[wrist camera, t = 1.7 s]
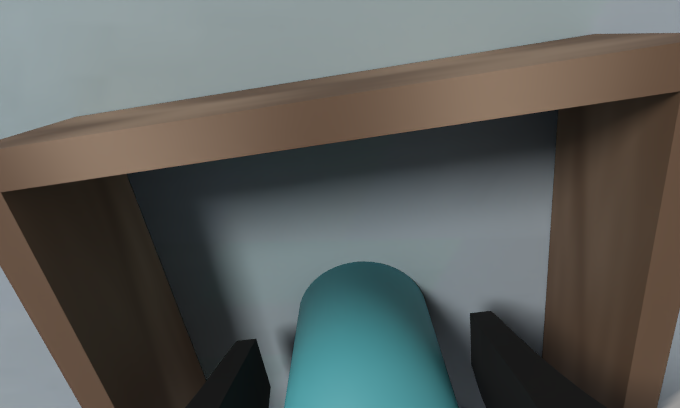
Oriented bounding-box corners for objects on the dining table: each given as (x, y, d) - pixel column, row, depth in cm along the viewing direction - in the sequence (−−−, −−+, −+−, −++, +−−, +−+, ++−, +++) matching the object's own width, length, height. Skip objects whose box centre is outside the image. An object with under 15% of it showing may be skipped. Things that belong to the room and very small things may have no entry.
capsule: (311, 370, 15) (290, 603, 9) (287, 271, 13) (240, 474, 7) (430, 357, 14) (494, 588, 8) (422, 253, 13) (494, 449, 7)
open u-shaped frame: (207, 435, 16) (166, 555, 12) (75, 117, 11) (-62, 158, 7) (561, 399, 15) (631, 516, 11) (595, 34, 10) (742, 32, 6)
